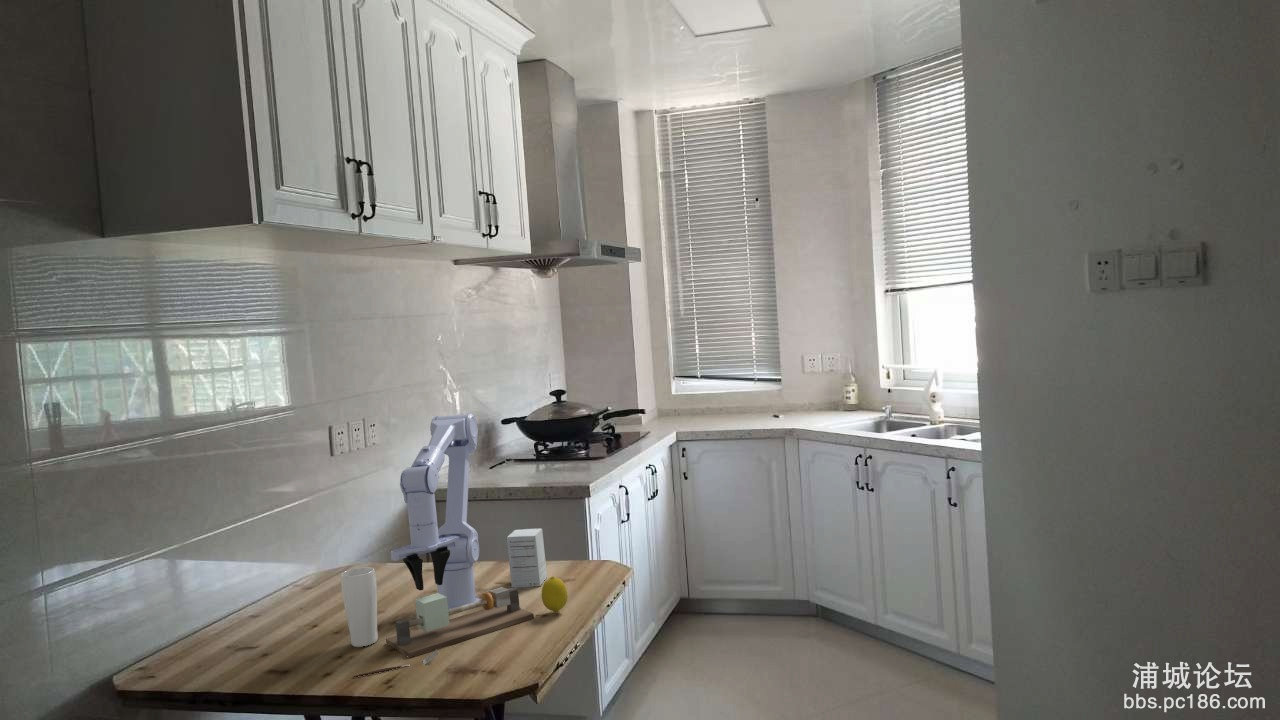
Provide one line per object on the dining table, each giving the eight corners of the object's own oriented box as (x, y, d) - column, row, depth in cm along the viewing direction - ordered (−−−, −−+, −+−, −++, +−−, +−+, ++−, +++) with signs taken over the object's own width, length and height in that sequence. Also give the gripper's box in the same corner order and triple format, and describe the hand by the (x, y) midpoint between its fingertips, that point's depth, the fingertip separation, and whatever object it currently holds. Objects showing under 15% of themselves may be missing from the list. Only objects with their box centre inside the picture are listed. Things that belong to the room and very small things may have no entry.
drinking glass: (372, 634, 181) (365, 565, 180) (387, 641, 176) (380, 569, 175) (341, 645, 176) (334, 573, 176) (356, 652, 171) (349, 578, 171)
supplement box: (519, 579, 213) (514, 529, 213) (547, 577, 212) (543, 527, 212) (510, 588, 206) (505, 536, 206) (540, 587, 205) (535, 535, 205)
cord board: (386, 643, 175) (383, 613, 174) (506, 606, 192) (504, 579, 192) (409, 658, 165) (406, 626, 165) (533, 618, 182) (531, 589, 182)
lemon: (564, 617, 181) (561, 580, 181) (540, 617, 182) (536, 580, 182) (572, 608, 187) (568, 572, 186) (547, 608, 188) (544, 573, 188)
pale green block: (417, 627, 175) (415, 599, 175) (440, 620, 178) (437, 592, 178) (426, 631, 171) (423, 603, 171) (449, 624, 175) (446, 596, 174)
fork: (350, 678, 159) (349, 667, 159) (437, 659, 164) (436, 648, 164) (351, 683, 156) (350, 672, 156) (439, 663, 162) (438, 653, 162)
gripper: (397, 533, 172) (404, 599, 172) (463, 518, 180) (469, 581, 181) (384, 528, 177) (390, 592, 178) (448, 514, 186) (454, 575, 187)
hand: (429, 586), depth 180 cm, fingers open, 4 cm apart
